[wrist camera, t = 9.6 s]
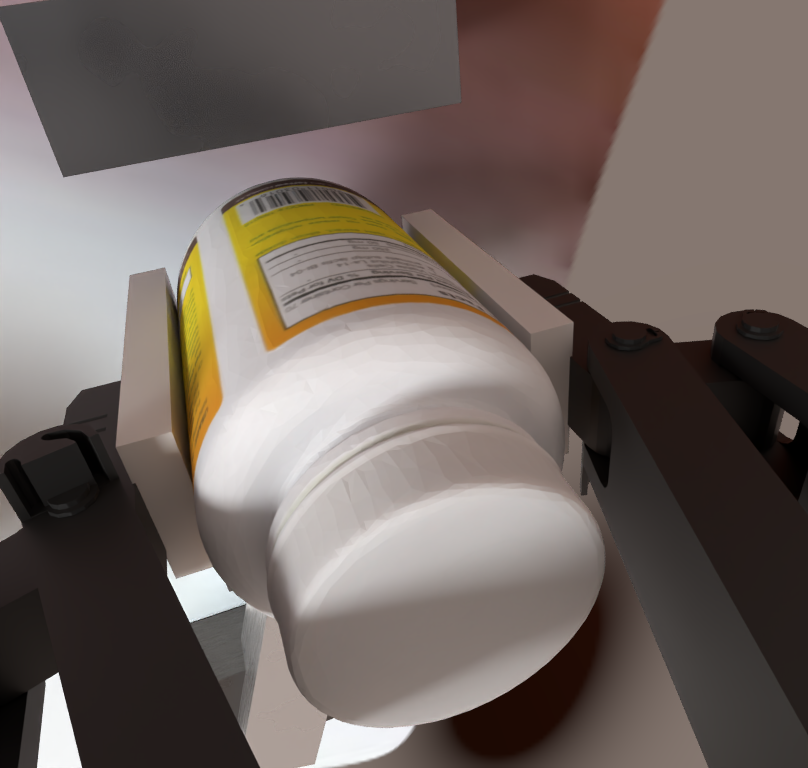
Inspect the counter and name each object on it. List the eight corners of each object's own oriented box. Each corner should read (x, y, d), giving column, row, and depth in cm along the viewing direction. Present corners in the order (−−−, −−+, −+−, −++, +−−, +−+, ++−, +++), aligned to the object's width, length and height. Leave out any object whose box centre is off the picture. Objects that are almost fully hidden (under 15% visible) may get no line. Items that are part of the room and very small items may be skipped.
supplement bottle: (286, 422, 18) (405, 812, 9) (120, 283, 14) (74, 689, 6) (446, 290, 17) (721, 579, 9) (310, 114, 14) (546, 306, 6)
